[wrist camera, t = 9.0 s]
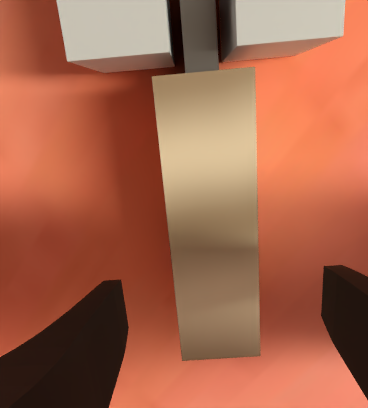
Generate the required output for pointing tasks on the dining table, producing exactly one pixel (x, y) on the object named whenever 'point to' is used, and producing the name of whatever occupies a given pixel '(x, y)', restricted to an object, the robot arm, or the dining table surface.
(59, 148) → the dining table surface
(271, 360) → the dining table surface
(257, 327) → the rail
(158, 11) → the grey stepped block
